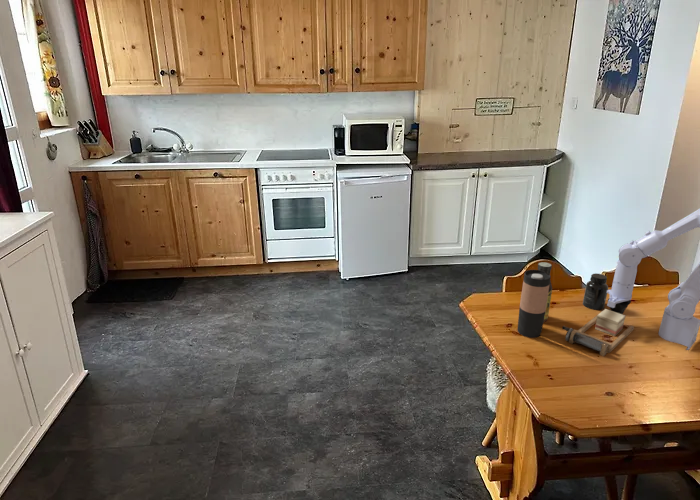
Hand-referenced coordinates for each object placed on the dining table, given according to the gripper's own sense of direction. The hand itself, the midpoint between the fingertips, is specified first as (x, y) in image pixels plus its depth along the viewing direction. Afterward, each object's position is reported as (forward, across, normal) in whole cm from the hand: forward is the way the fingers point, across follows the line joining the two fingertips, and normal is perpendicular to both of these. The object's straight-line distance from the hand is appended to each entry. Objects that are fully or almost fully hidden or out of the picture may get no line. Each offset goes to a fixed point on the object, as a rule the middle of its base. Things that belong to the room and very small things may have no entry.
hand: (615, 319), depth 157 cm
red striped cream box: (+2, +5, 0) cm, 5 cm away
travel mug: (+3, +23, -17) cm, 29 cm away
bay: (+2, +9, 0) cm, 9 cm away
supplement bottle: (+3, -8, -10) cm, 13 cm away
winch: (+2, +20, -1) cm, 21 cm away
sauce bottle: (+3, +14, -19) cm, 24 cm away
